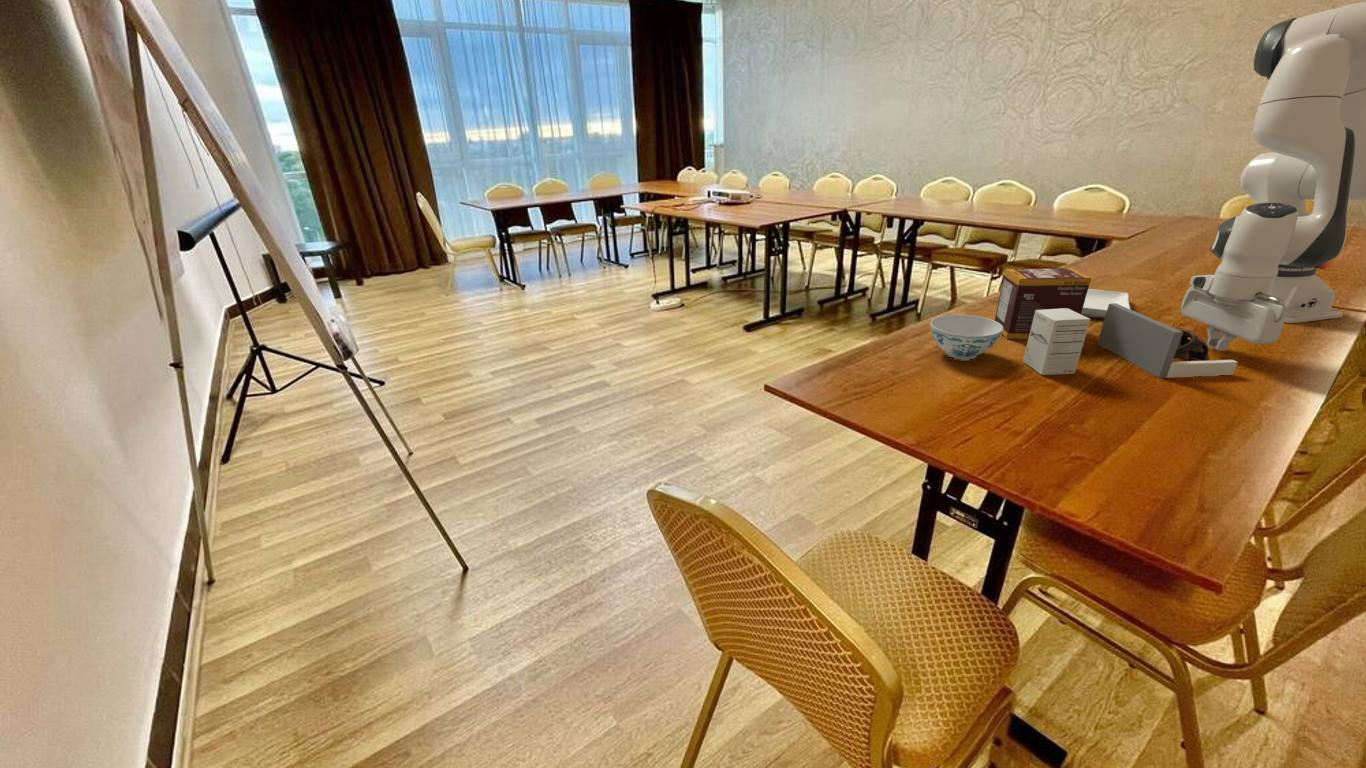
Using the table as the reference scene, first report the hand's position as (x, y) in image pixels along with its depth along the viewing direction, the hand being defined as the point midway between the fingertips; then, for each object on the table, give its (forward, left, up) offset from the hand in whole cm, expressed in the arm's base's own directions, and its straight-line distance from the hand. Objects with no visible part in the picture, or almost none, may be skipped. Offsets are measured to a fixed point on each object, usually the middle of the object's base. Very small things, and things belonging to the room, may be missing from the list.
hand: (1215, 348), depth 114 cm
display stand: (+11, 0, -2) cm, 11 cm away
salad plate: (+6, -37, -2) cm, 37 cm away
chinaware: (+51, -6, -2) cm, 52 cm away
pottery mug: (+9, +2, -2) cm, 9 cm away
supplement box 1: (+28, -19, -2) cm, 34 cm away
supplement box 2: (+36, +3, -2) cm, 36 cm away
